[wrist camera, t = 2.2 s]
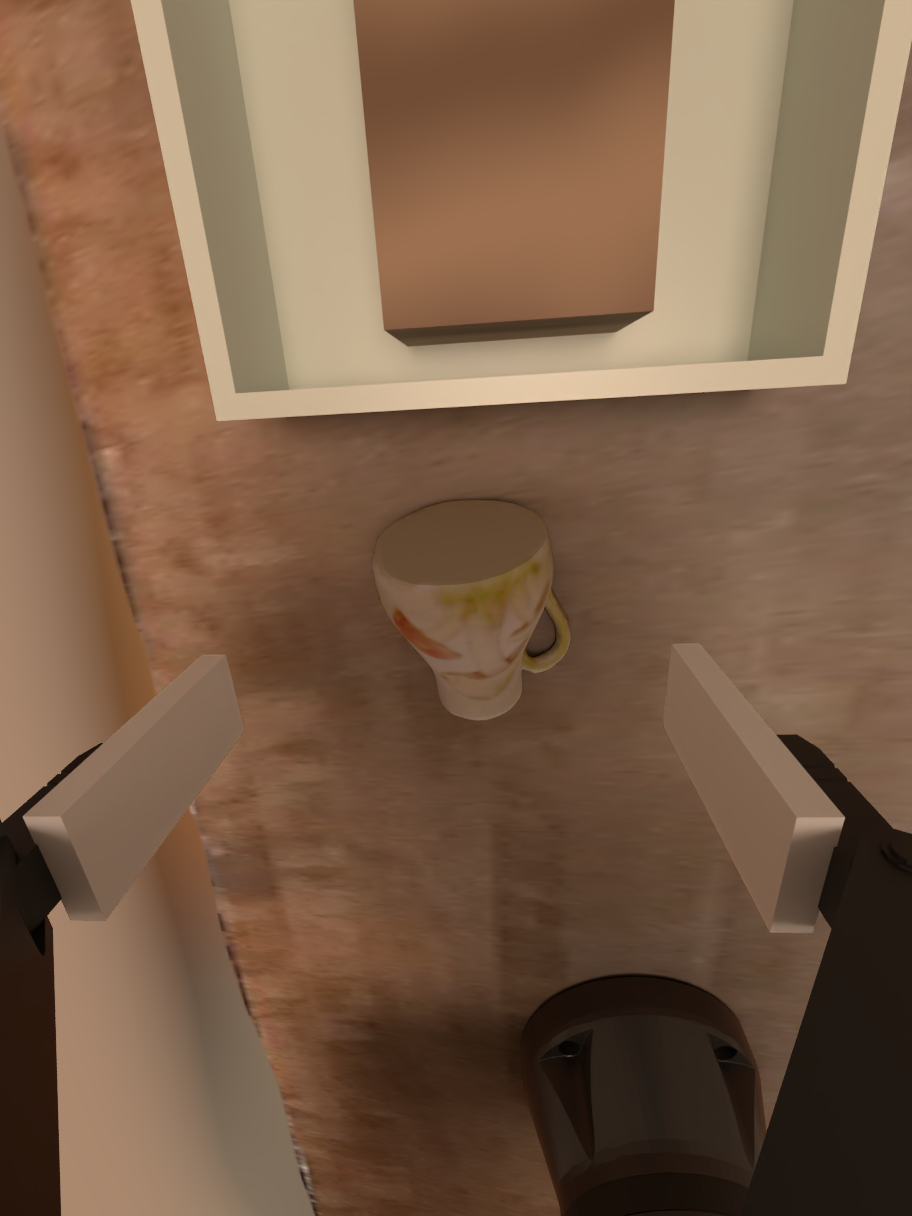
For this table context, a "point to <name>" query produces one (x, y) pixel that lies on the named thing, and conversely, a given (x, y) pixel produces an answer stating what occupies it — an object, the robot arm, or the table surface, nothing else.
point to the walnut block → (514, 163)
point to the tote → (548, 366)
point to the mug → (471, 598)
